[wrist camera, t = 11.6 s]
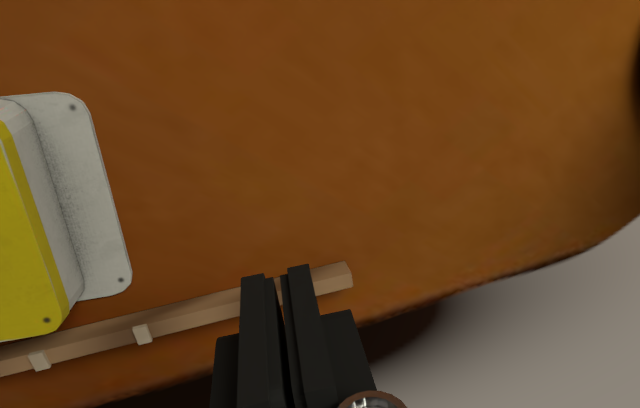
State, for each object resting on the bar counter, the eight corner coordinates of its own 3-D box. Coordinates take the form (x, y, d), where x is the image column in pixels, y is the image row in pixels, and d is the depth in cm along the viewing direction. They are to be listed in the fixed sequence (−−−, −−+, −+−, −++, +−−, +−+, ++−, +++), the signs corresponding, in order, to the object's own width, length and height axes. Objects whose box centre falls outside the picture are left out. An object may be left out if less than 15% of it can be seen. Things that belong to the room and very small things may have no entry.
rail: (344, 259, 23) (352, 274, 22) (347, 274, 24) (354, 289, 22) (-82, 365, 21) (-101, 388, 20) (-72, 380, 21) (-90, 404, 20)
